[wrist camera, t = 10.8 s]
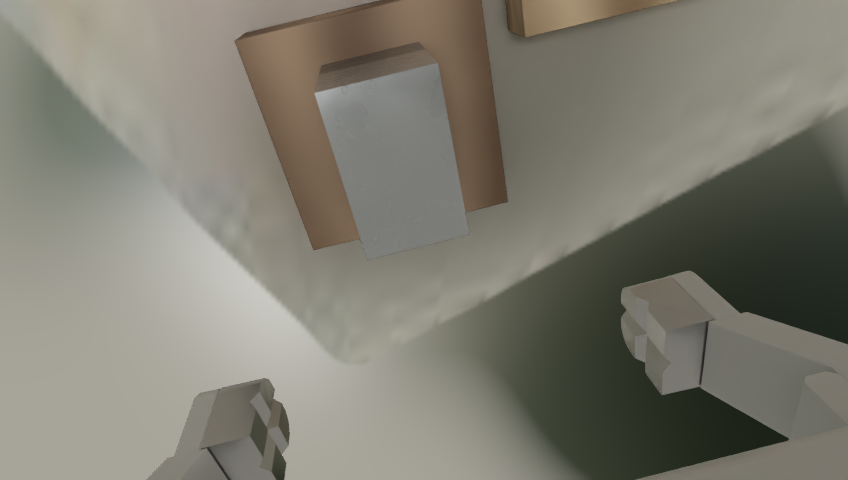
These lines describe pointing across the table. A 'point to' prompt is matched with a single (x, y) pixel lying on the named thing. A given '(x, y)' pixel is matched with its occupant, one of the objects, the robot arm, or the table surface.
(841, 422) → the robot arm
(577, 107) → the table surface
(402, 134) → the block
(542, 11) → the stand
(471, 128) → the stand
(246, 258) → the table surface
